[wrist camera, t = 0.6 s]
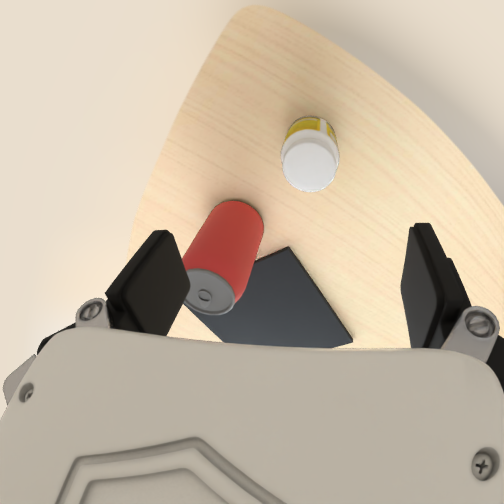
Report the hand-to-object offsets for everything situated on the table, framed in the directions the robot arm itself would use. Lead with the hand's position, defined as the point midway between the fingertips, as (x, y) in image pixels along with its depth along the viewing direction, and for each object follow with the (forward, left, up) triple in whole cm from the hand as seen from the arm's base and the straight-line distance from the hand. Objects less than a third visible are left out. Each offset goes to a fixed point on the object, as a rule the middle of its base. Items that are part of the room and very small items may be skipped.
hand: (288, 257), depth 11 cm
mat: (+21, -19, -20) cm, 35 cm away
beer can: (+5, -13, -21) cm, 25 cm away
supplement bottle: (+1, 0, -21) cm, 21 cm away
